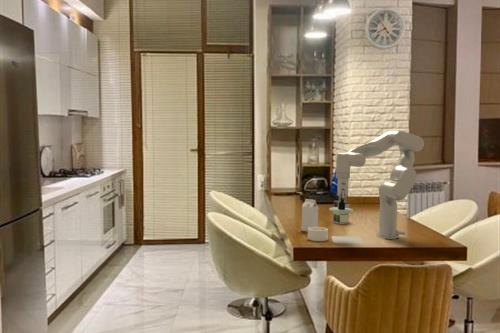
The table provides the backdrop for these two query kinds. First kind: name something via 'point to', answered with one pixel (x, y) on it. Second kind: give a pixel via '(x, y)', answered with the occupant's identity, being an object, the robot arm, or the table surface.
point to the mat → (347, 239)
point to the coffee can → (341, 214)
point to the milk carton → (309, 214)
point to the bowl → (317, 233)
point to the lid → (336, 209)
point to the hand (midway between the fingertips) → (341, 208)
